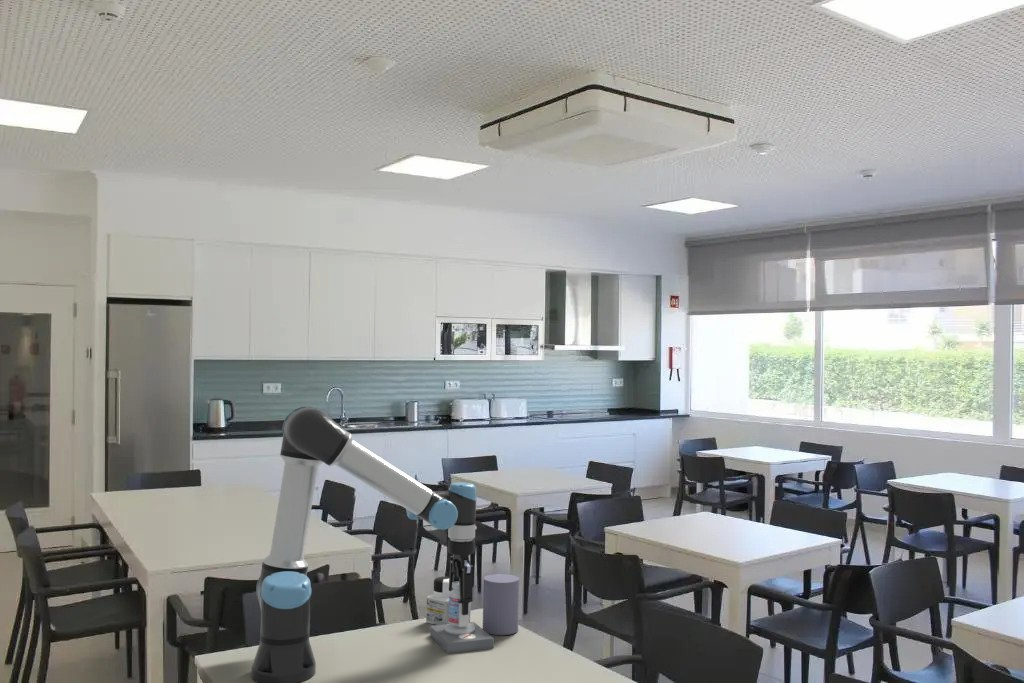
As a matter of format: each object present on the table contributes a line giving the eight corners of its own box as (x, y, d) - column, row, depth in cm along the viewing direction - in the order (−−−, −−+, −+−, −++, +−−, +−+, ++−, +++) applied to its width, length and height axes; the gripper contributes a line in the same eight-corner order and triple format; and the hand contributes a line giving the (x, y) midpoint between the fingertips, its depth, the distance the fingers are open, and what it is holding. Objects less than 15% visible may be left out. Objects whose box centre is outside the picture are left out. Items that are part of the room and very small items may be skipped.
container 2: (490, 623, 252) (491, 572, 252) (523, 628, 248) (524, 576, 249) (476, 633, 242) (478, 580, 243) (510, 638, 239) (511, 584, 239)
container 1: (425, 622, 251) (426, 578, 252) (442, 616, 258) (443, 573, 258) (445, 627, 247) (446, 582, 247) (462, 621, 253) (463, 577, 254)
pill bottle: (444, 625, 234) (445, 583, 235) (454, 619, 240) (455, 579, 240) (464, 628, 232) (465, 586, 232) (473, 622, 238) (474, 581, 238)
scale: (447, 653, 225) (447, 639, 225) (430, 635, 239) (430, 622, 240) (493, 648, 229) (493, 634, 230) (473, 630, 244) (473, 618, 244)
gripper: (486, 544, 229) (484, 631, 229) (463, 531, 247) (461, 612, 246) (459, 546, 227) (457, 633, 226) (438, 533, 244) (436, 614, 243)
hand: (459, 622), depth 236 cm, fingers closed on pill bottle, 6 cm apart
